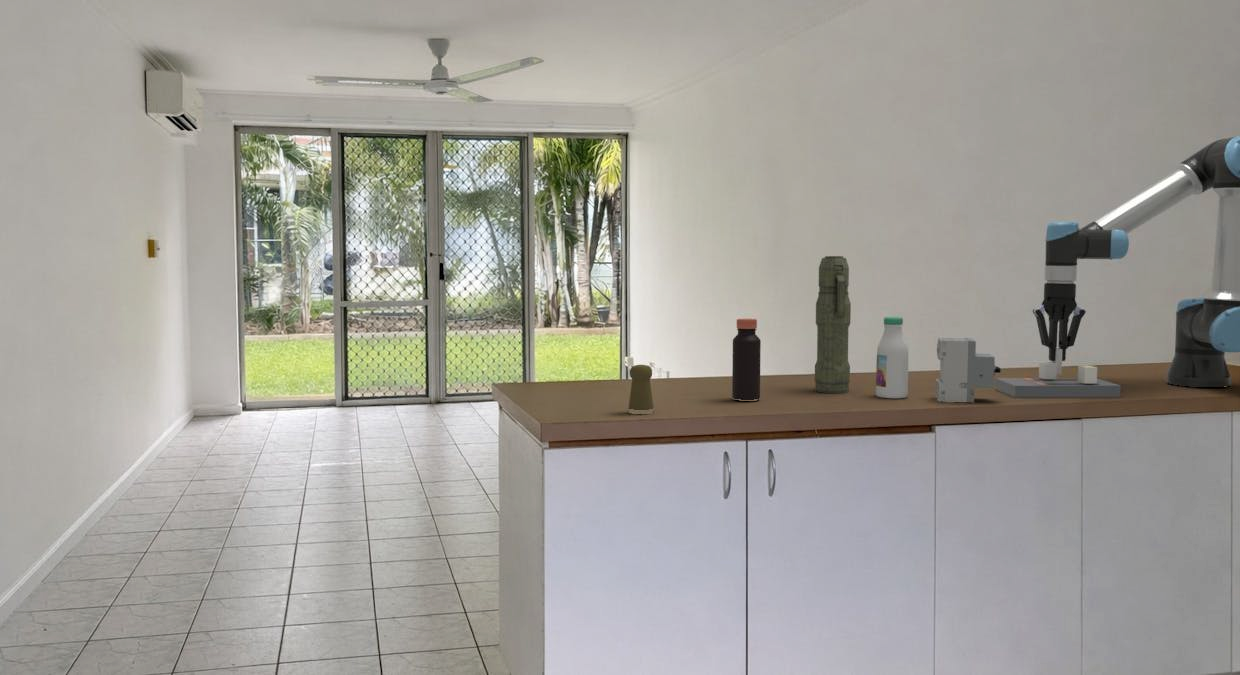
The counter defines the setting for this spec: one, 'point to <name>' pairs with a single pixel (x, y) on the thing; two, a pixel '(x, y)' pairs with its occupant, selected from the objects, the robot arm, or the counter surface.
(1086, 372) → the white block
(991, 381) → the circuit breaker
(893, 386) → the milk bottle
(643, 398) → the olive green shaker
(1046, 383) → the panel
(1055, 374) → the light grey block
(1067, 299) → the robot arm
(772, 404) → the counter surface
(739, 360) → the vinegar
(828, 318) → the thermos
